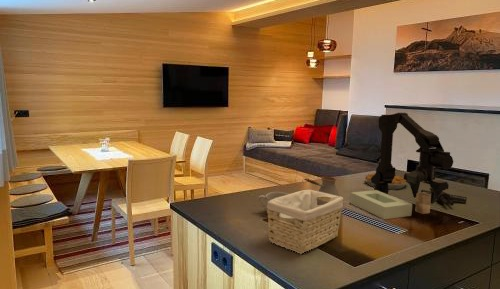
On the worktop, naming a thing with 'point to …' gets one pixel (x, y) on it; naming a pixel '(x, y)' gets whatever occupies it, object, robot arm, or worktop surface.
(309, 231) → the storage basket
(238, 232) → the worktop surface
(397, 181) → the pie
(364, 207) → the well box
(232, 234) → the worktop surface
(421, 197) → the wooden block
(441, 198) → the black irregular piece
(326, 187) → the coffee pot
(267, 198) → the teacup
